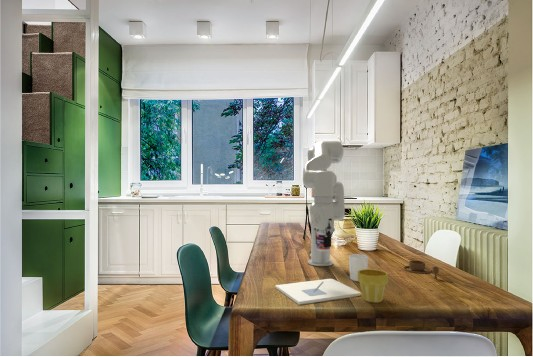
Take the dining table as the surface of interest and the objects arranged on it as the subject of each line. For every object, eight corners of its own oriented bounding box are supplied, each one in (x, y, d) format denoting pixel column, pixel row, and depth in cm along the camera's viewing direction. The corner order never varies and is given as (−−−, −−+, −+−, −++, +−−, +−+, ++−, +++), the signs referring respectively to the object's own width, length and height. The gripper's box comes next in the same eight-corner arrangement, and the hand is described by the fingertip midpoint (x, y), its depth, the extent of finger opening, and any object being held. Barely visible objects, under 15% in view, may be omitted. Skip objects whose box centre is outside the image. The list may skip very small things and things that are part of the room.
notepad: (275, 287, 139) (275, 285, 139) (331, 280, 149) (331, 278, 149) (298, 304, 121) (298, 301, 121) (361, 295, 130) (361, 292, 130)
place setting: (437, 271, 168) (437, 258, 168) (440, 282, 150) (441, 268, 150) (398, 267, 175) (398, 255, 175) (396, 278, 156) (397, 264, 156)
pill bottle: (313, 250, 144) (313, 226, 144) (321, 248, 148) (321, 225, 148) (324, 251, 140) (324, 227, 140) (332, 250, 144) (332, 226, 144)
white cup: (354, 282, 147) (354, 258, 147) (345, 277, 154) (345, 254, 154) (371, 281, 149) (371, 257, 149) (361, 276, 156) (361, 253, 156)
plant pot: (364, 293, 133) (364, 267, 133) (392, 299, 127) (392, 271, 127) (352, 300, 125) (352, 272, 125) (381, 307, 119) (381, 277, 119)
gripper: (305, 200, 150) (305, 242, 150) (326, 202, 135) (326, 250, 134) (320, 199, 153) (320, 241, 153) (343, 202, 137) (343, 248, 137)
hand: (323, 245), depth 144 cm, fingers closed on pill bottle, 5 cm apart
